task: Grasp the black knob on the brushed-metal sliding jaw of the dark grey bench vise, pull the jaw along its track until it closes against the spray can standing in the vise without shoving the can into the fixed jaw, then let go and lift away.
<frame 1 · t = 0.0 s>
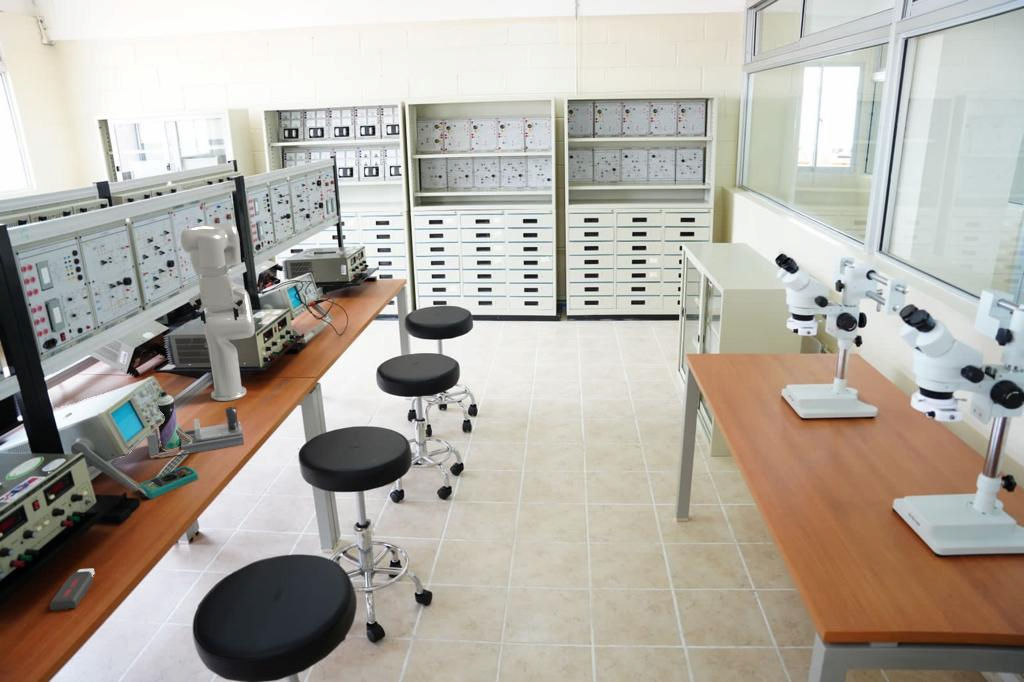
hand: (220, 321, 229), 37 cm above the table, tool pointing down, fingers open, 9 cm apart
usb drive: (76, 593, 157), on the table
spray can: (171, 448, 221), resting in vise frame
digital multimeter: (169, 486, 200), on the table
sliding jaw: (217, 423, 225), point 6 cm above the table, slide at 0.0 cm
vise frame: (193, 444, 224), on the table
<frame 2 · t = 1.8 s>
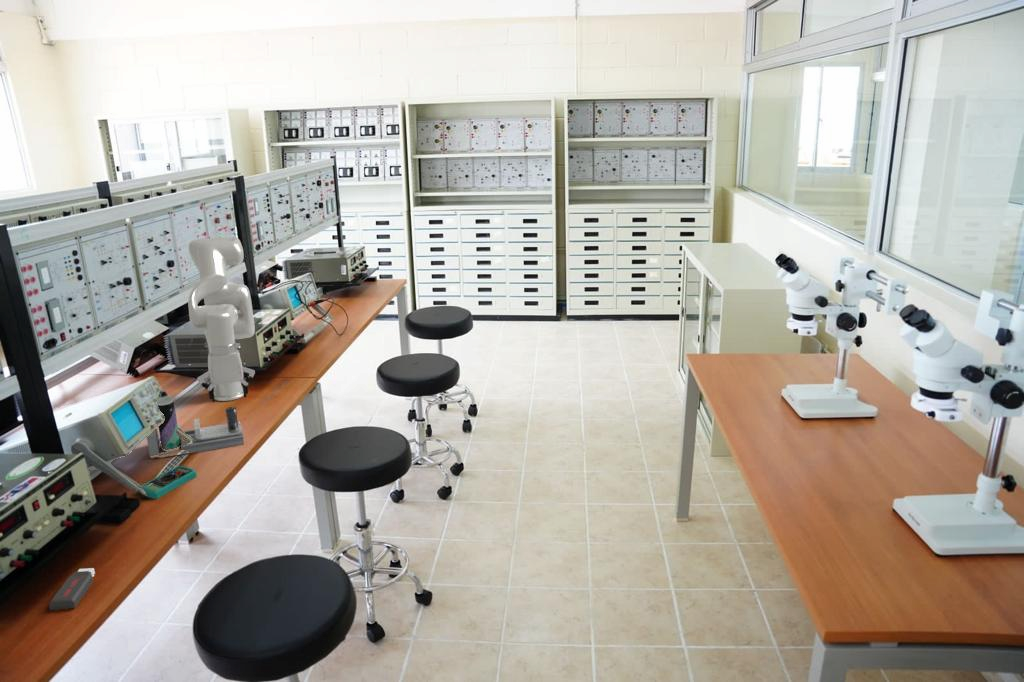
hand: (229, 398, 223), 15 cm above the table, tool pointing down, fingers open, 9 cm apart
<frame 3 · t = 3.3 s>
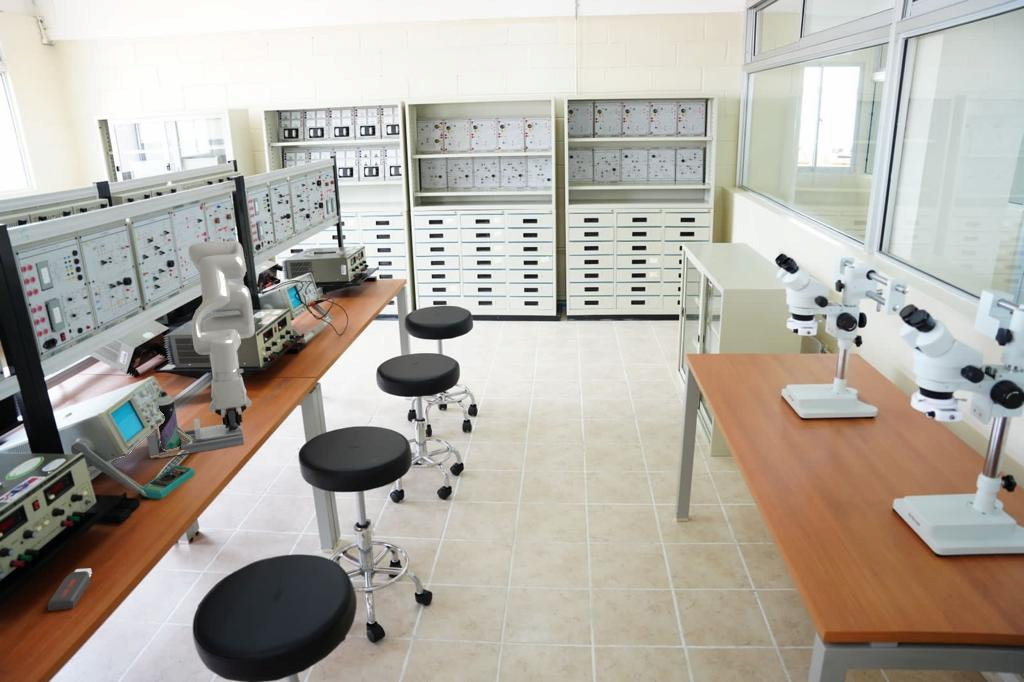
hand: (232, 424, 227), 5 cm above the table, tool pointing down, fingers closed on sliding jaw, 3 cm apart
sliding jaw: (217, 423, 225), point 6 cm above the table, slide at 0.0 cm, touching gripper
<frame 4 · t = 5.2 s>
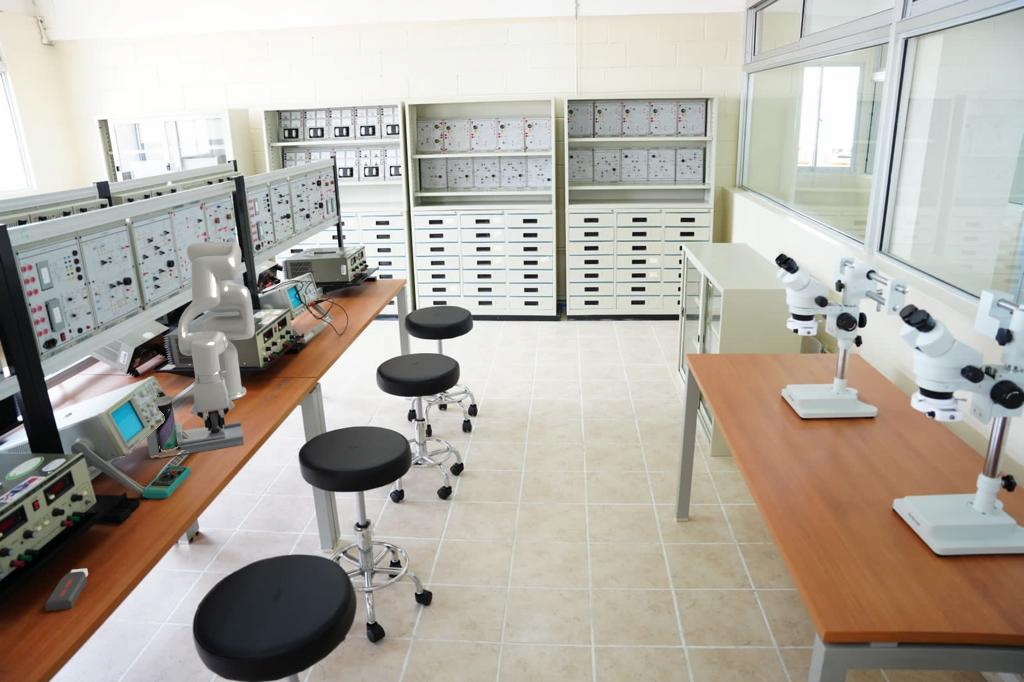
hand: (215, 427, 225), 5 cm above the table, tool pointing down, fingers closed on sliding jaw, 3 cm apart
spray can: (169, 449, 221), resting in vise frame, touching sliding jaw
sliding jaw: (200, 426, 223), point 6 cm above the table, slide at 5.4 cm, touching gripper, spray can
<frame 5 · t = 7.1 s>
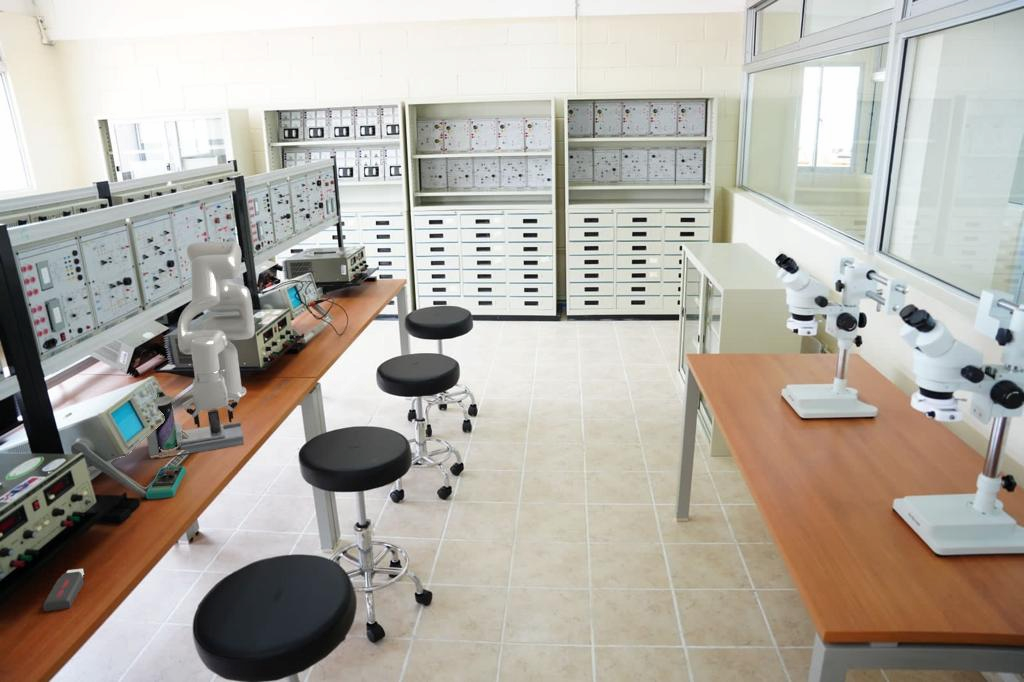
hand: (214, 423, 225), 6 cm above the table, tool pointing down, fingers open, 9 cm apart
spray can: (169, 449, 221), resting in vise frame
sliding jaw: (199, 426, 223), point 6 cm above the table, slide at 5.4 cm
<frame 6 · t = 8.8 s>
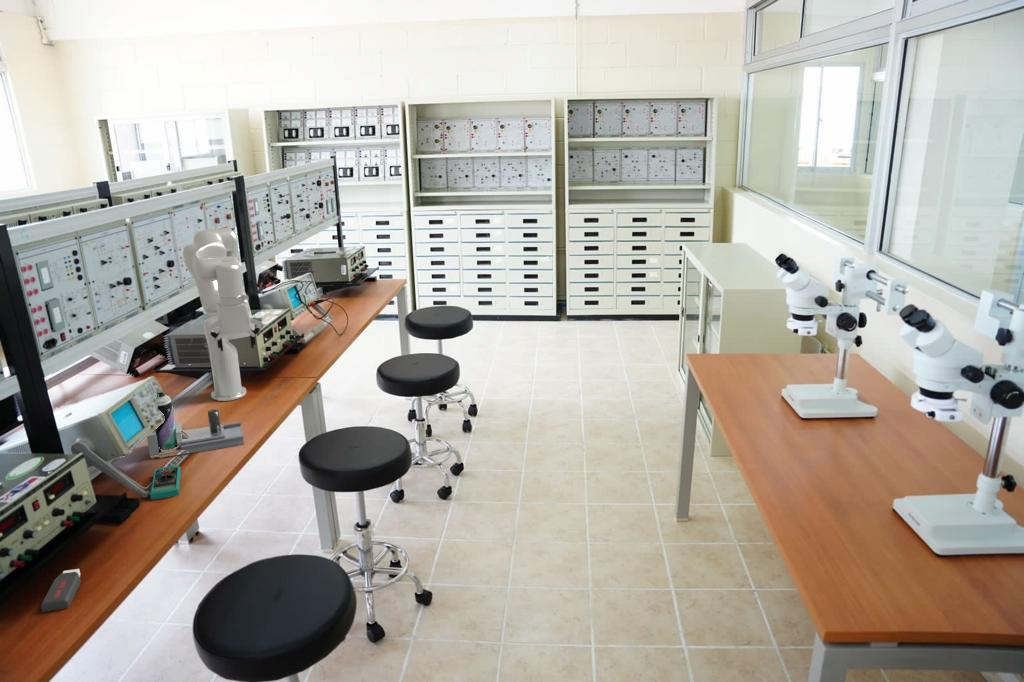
hand: (237, 348, 230), 28 cm above the table, tool pointing down, fingers open, 9 cm apart
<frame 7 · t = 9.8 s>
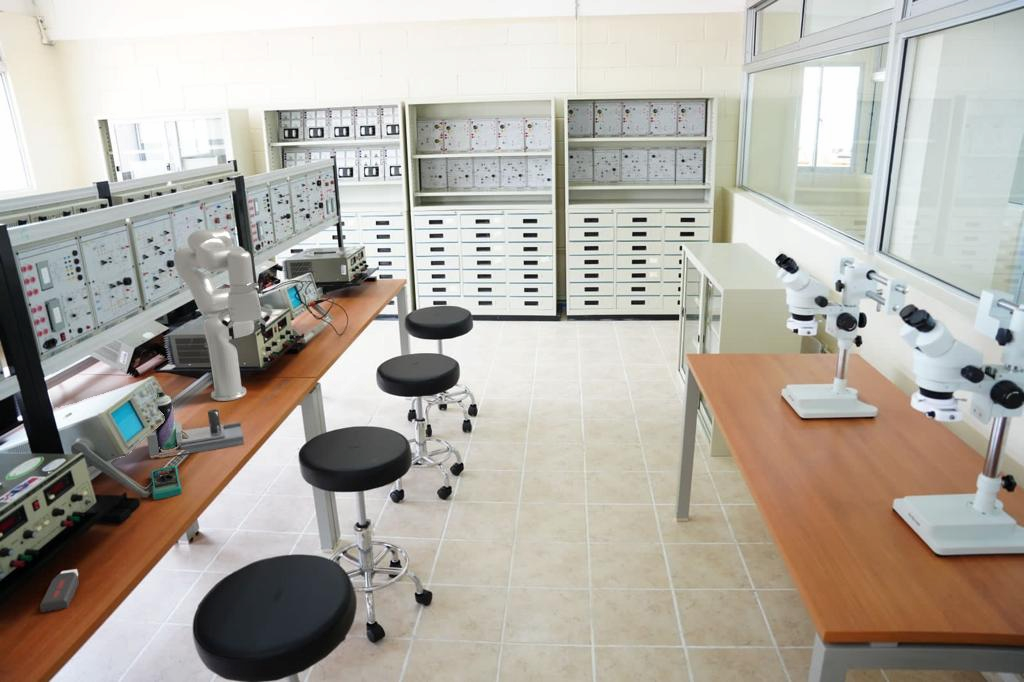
hand: (247, 336, 234), 30 cm above the table, tool pointing down, fingers open, 9 cm apart
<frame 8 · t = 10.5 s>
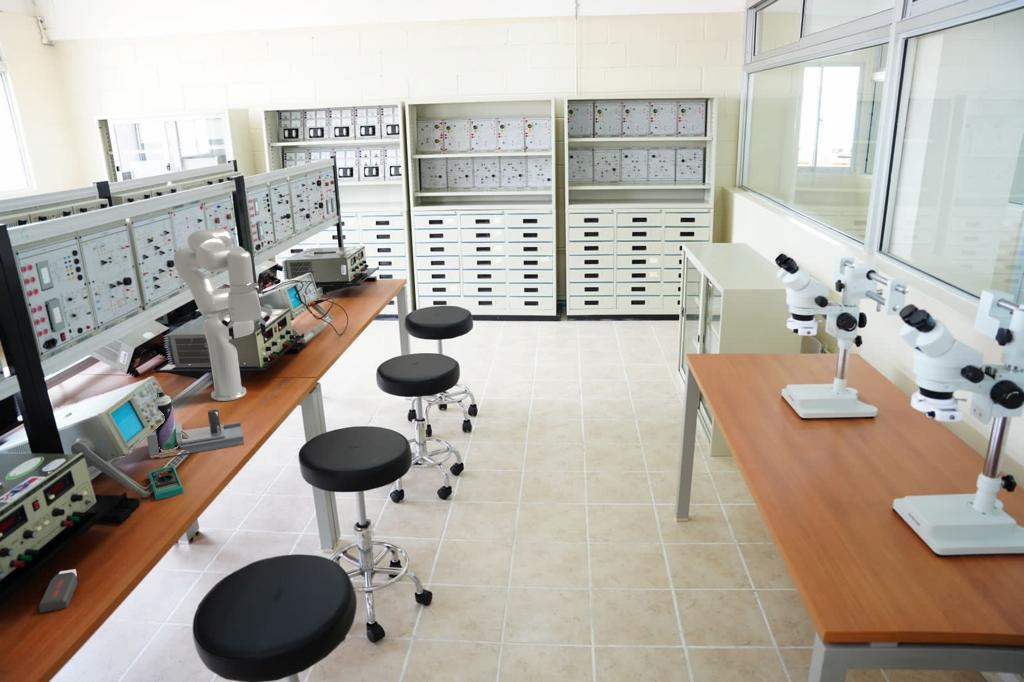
hand: (247, 336, 234), 30 cm above the table, tool pointing down, fingers open, 9 cm apart
at the end: sliding jaw slide at 5.4 cm; spray can tilted 0°; spray can moved 0.7 cm from its start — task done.
